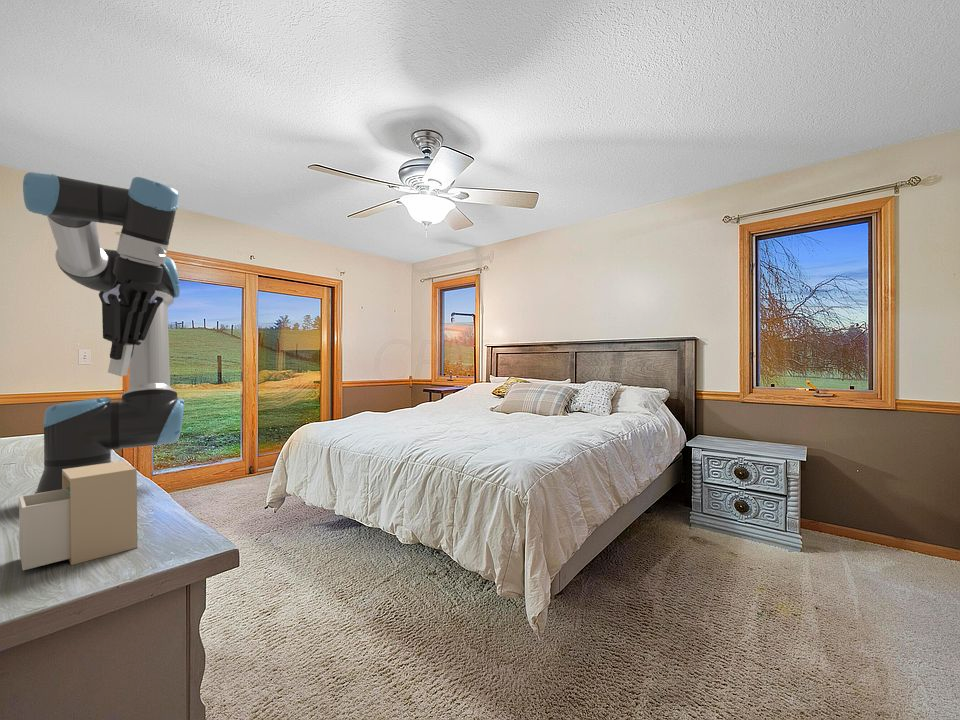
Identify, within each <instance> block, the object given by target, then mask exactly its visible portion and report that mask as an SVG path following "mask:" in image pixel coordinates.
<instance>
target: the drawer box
mask: <svg viewBox="0 0 960 720" xmlns="http://www.w3.org/2000/svg"><path fill="white" fill-rule="evenodd" d="M18 499H19V501H18V505H19V506H18V509H19V511H18V512H19V513H18V518H19V521H18V523H19V527H18V528H19V529H18V530H19V533H18V534H19V535H18V536H19V541H18V542H19V544H18V545H19V557H20V564H21V569H22V571H27V570H30V569H34V568H38V567H41V566H46V565H49V564H53V563H58V562H61V561H66V560H69V559H70V558H71V527H70V488H67V489H61V490H55V491H49V492H43V493H37V494H34V493H33V494H32V493H31V494H26V495H19V497H18Z"/></svg>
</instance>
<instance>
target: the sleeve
mask: <svg viewBox="0 0 960 720" xmlns="http://www.w3.org/2000/svg"><path fill="white" fill-rule="evenodd" d="M137 471H138V470H137V468H136V467H134V466H132V465H131V464H130V463H127V462H126V461H124V460H120V461H113V462H112V461H111V463H104V464H97V465H90V466H83V467H76V468H68V469H62V489H67V488H70V527H71V558H70V559H68V561H69V563H70V566H74V565H77V564H81V563H85V562H88V561H92V560H96V559H99V558H103V557H107V556H111V555H115V554H119V553H123V552H126V551H130V550H134V549H137V548H138V492H137V491H138V489H137V488H138V487H137V486H138V482H137V480H138V479H137V477H138V472H137Z"/></svg>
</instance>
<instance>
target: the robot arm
mask: <svg viewBox="0 0 960 720" xmlns="http://www.w3.org/2000/svg"><path fill="white" fill-rule="evenodd" d="M22 193H23V202H24V206H25V208H26V210H28V211H29V212H30V213H33V214H38V215H42V216H44V217H45V216H46V218H47V220H48V223H49V226H50V229H51V232H52V235H53V239H54V240H55V244H56V246H57V247H56V248H57V249H56V250H55V253H54V254H55V260H56V263H57V266H58V267H59V269H60V270H61V271H62V272H63V273H64V274H65V275H66V276H67V277H68V278H70V279H71V280H73V281H75V282H76V283H78V284H79V285H82V286H84V287H86V288H87V289H90V290H94V291H97V292H99V293H98V297H99V299H100V301H101V311H102V313H101V316H102V317H101V318H102V338H103V339H104V340H106V341H108V342H111V347H110V352H109V358H110V359H109V365H108V370H107V373H108V374H111V375H115V376H119V377H124V376H128V378H129V379H128V380H129V382H128V383H129V386H128V387H129V388H128V389H127V390H126V391H125V392H123V393H122V394H121V401H116V402H115V401H114V402H113V401H112V399H111V398H110V397H109V396H105V397H104V396H103V397H95V398H89V399H88V398H87V399H81V400H76V401H70V402H63V403H62V402H61V403H57V404H53V405H50V406H48V407H47V408H46V409H45V410H44V414H43V415H44V416H43V419H44V420H43V425H42V428H43V472H42V474H41V477H40V480H39V482H38V485H37V488H36V491H35V492H34V493H33V494H37V493H43V492H49V491H55V490H61V489H62V469H68V468H76V467H83V466H90V465H97V464H104V463H111V462H112V457H111V454H112V450H120V449H121V450H122V449H132V448H140V447H149V446H150V447H151V446H156V447H159V446H161V445H167V444H172V443H175V442H177V441H178V440H179V438H180V436H181V431H182V428H183V427H182V425H183V418H184V410H185V399H183V398H181V397H180V398H179V397H178V391H177V390H175V389H174V388H172V387H171V371H170V369H171V368H170V365H171V364H170V341H169V339H170V338H169V309H168V307H169V306H170V307H171V305H173V303H174V302H175V299H176V298H179V296H180V294H181V293H180V291H181V290H180V286H181V285H180V279H179V273H178V268H177V265H176V263H175V261H174V260H173V259H172V258H171V257H169V256H167V253H168V252H167V251H168V248H169V243H170V238H171V236H172V235H171V234H172V230H173V226H174V222H175V218H176V217H175V216H176V212H177V210H178V201H179V192H178V191H177V190H176V189H175V188H173V187H170V186H168V185H165V184H163V183H161V182H157V181H154V180H151V179H148V178H145V177H140V176H135V177H133V178H132V180H131V182H130V186H129V188H125V187H119V186H114V185H113V186H112V185H107V184H101V183H96V182H91V181H86V180H82V179H81V180H80V179H74V178H69V177H65V176H60V175H56V174H53V173H51V174H49V173H40V172H33V171H30V172H27V173H25V174H24V176H23V181H22ZM98 223H100V224H101V223H102V224H108V225H114V226H115V225H116V226H121V227H122V228H121V231H120V235H119V240H118V243H117V249H116V250H114V249H107V248H102V247H101V243H100V237H99V231H98ZM128 373H129V375H128Z"/></svg>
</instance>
